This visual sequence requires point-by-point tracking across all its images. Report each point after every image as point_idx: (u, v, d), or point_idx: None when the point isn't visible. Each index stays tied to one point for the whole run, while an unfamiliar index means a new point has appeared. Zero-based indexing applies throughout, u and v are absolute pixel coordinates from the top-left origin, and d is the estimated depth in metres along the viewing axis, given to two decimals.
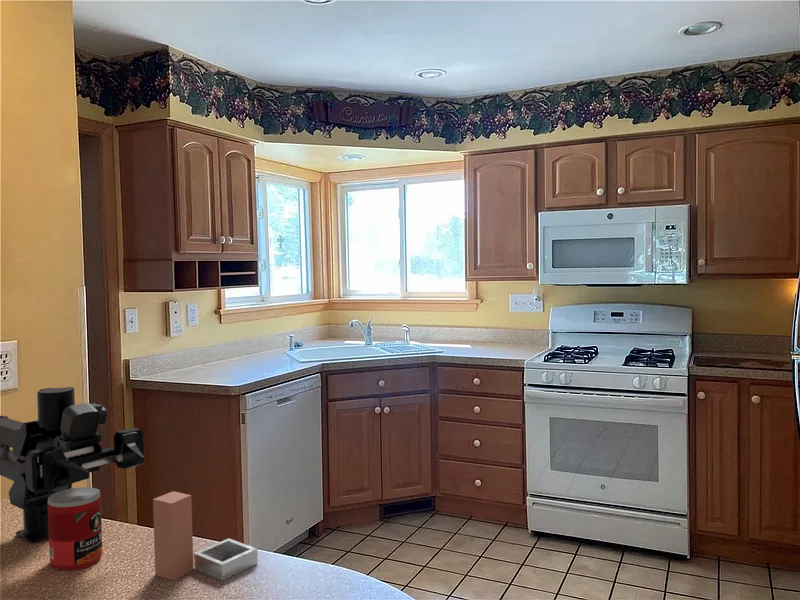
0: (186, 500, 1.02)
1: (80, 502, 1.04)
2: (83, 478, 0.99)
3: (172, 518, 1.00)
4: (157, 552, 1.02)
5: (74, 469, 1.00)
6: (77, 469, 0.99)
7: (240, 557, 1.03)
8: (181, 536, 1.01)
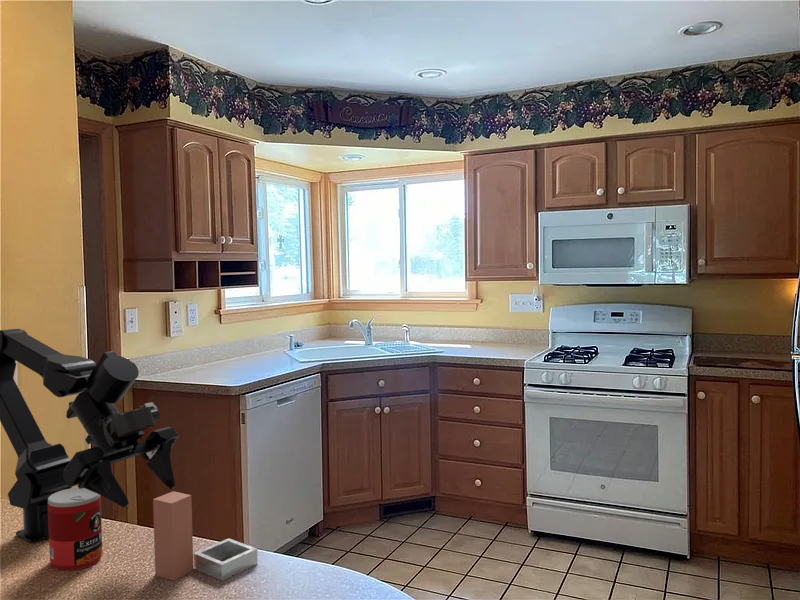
0: (186, 500, 1.02)
1: (80, 502, 1.04)
2: (120, 504, 1.01)
3: (172, 519, 1.00)
4: (157, 552, 1.02)
5: (116, 492, 1.00)
6: (119, 494, 1.00)
7: (240, 557, 1.03)
8: (181, 536, 1.01)
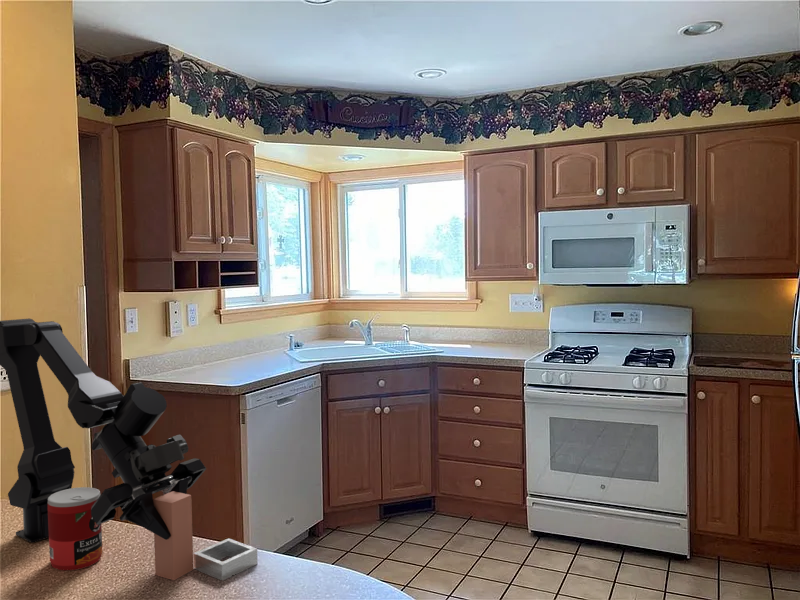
0: (186, 500, 1.02)
1: (80, 502, 1.04)
2: (162, 537, 1.00)
3: (172, 518, 1.00)
4: (157, 552, 1.02)
5: (158, 525, 1.00)
6: (161, 527, 1.00)
7: (240, 557, 1.03)
8: (181, 536, 1.01)
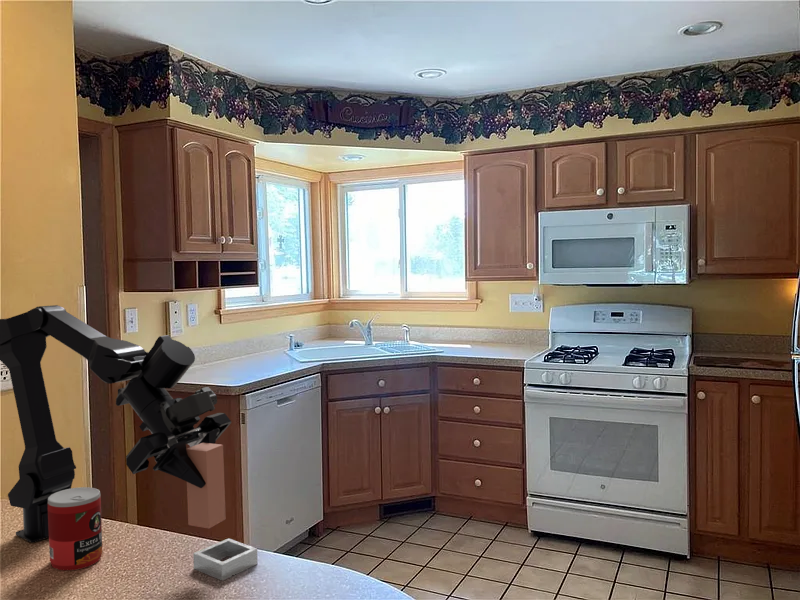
0: (218, 449, 1.03)
1: (80, 502, 1.04)
2: (197, 485, 1.00)
3: (207, 466, 1.00)
4: (190, 502, 1.02)
5: (193, 473, 1.00)
6: (196, 475, 1.00)
7: (240, 557, 1.03)
8: (215, 485, 1.02)
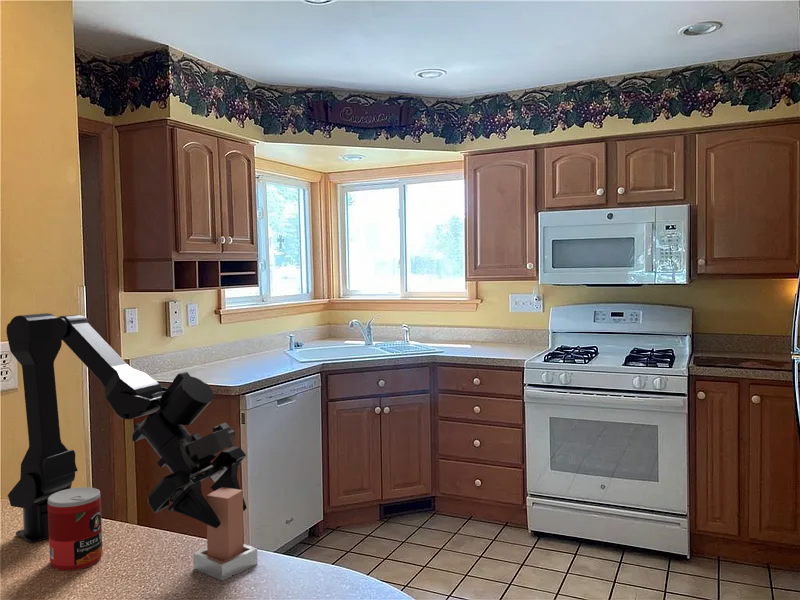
0: (239, 495, 1.04)
1: (80, 502, 1.04)
2: (212, 525, 1.01)
3: (228, 513, 1.02)
4: (210, 547, 1.03)
5: (208, 513, 1.00)
6: (211, 515, 1.00)
7: (240, 557, 1.03)
8: (235, 531, 1.04)
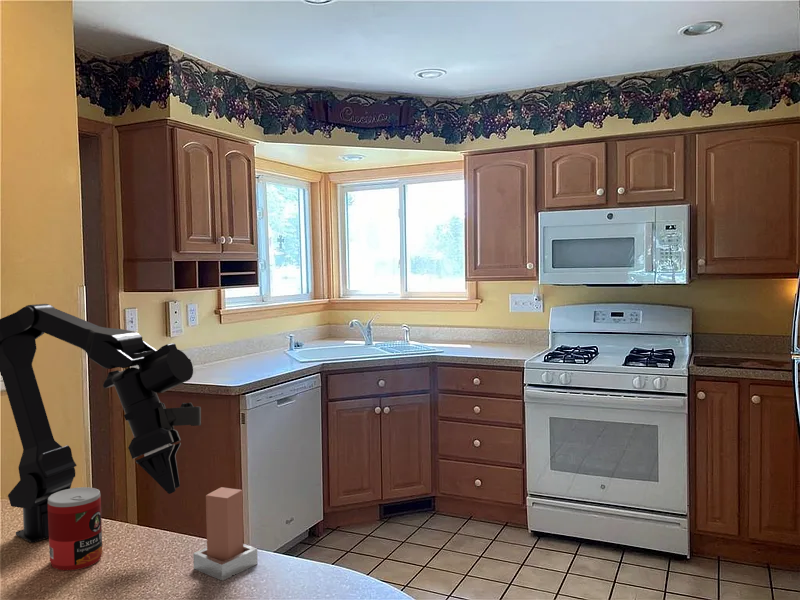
0: (238, 495, 1.04)
1: (80, 502, 1.04)
2: (167, 490, 1.04)
3: (227, 513, 1.02)
4: (210, 548, 1.03)
5: (170, 477, 1.04)
6: (172, 480, 1.04)
7: (240, 557, 1.03)
8: (235, 530, 1.04)
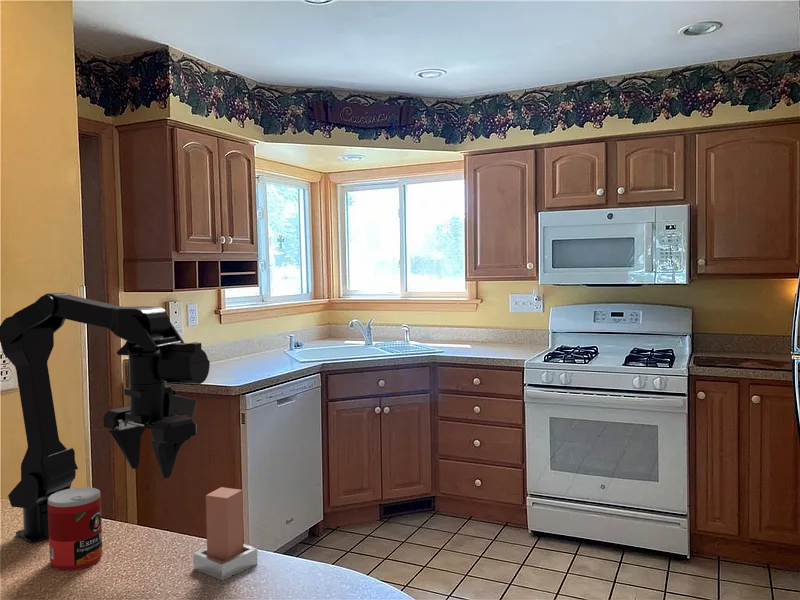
0: (238, 495, 1.04)
1: (80, 502, 1.04)
2: (164, 475, 1.08)
3: (227, 513, 1.02)
4: (210, 548, 1.03)
5: (172, 464, 1.08)
6: (172, 467, 1.08)
7: (240, 557, 1.03)
8: (235, 530, 1.04)
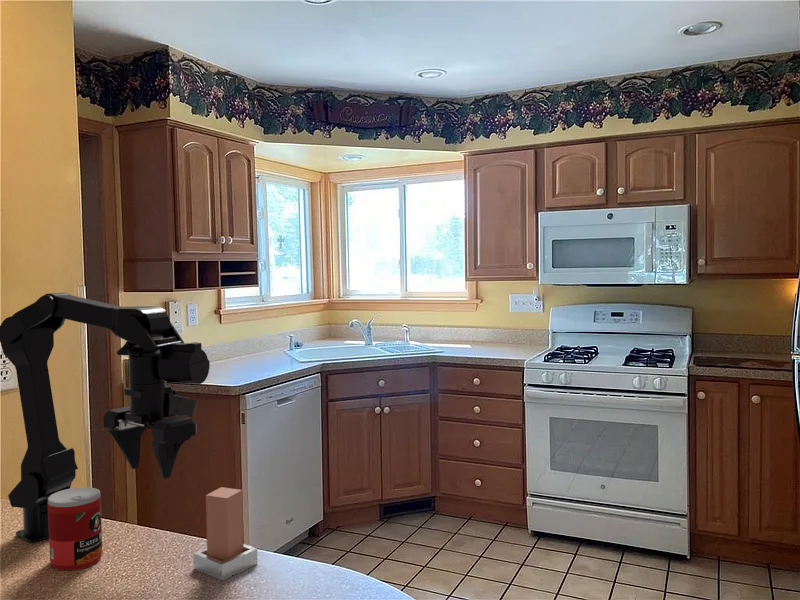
0: (238, 495, 1.04)
1: (80, 502, 1.04)
2: (164, 475, 1.08)
3: (227, 513, 1.02)
4: (210, 547, 1.03)
5: (172, 464, 1.08)
6: (172, 467, 1.08)
7: (240, 557, 1.03)
8: (235, 530, 1.04)
